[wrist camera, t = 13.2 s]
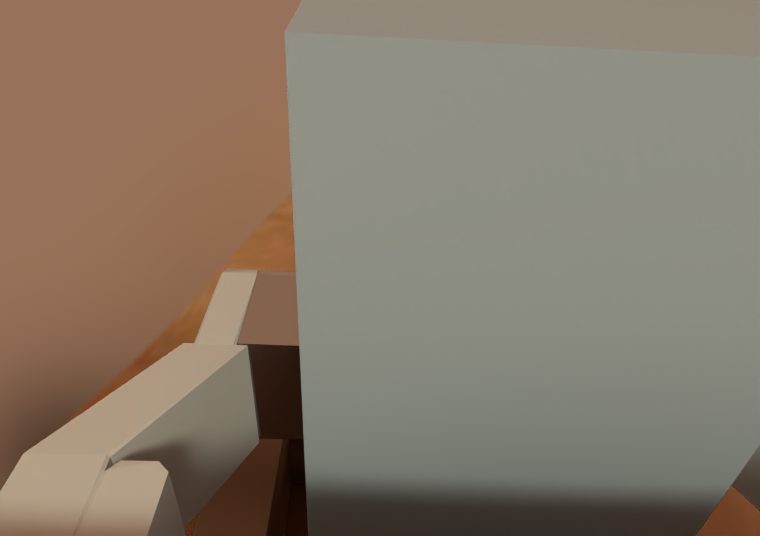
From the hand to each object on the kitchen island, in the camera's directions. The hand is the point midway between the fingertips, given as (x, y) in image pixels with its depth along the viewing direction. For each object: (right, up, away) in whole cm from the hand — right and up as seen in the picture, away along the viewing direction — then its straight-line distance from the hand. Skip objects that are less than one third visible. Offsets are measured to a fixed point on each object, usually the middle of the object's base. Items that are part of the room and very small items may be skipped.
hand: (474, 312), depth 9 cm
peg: (0, -6, +3) cm, 7 cm away
